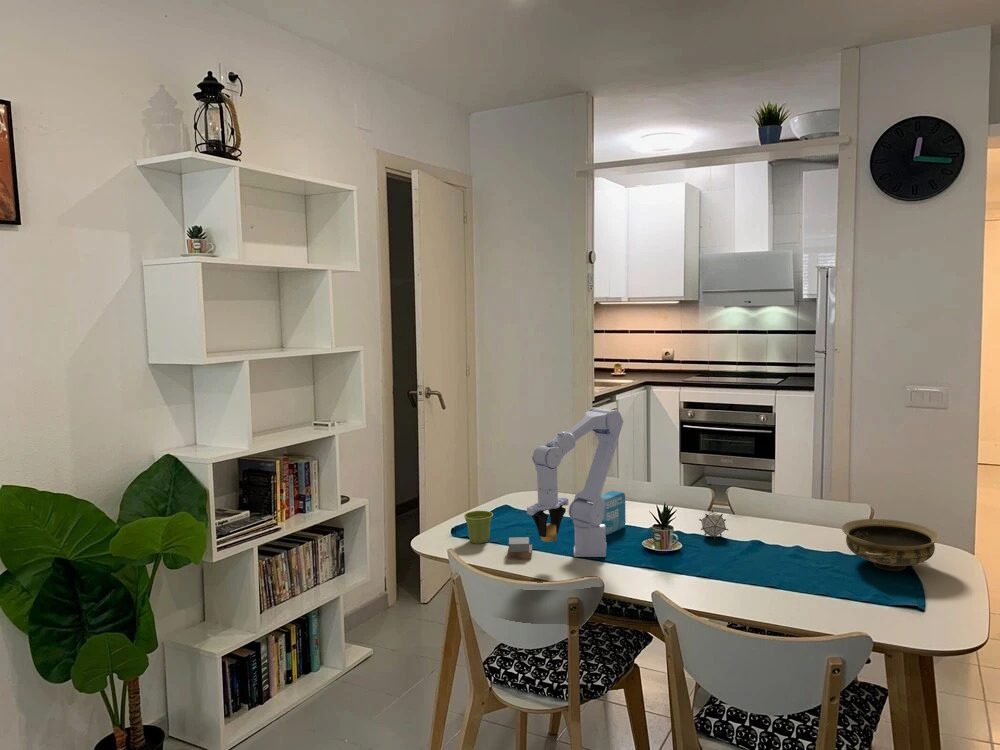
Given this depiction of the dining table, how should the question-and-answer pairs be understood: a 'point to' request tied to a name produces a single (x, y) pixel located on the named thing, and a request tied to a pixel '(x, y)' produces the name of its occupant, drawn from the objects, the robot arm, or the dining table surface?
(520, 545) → the grey painted block
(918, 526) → the ceramic bowl
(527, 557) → the walnut base block
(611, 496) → the data package
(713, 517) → the grey spiked ball
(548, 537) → the golden brown cylinder
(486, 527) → the plant pot
